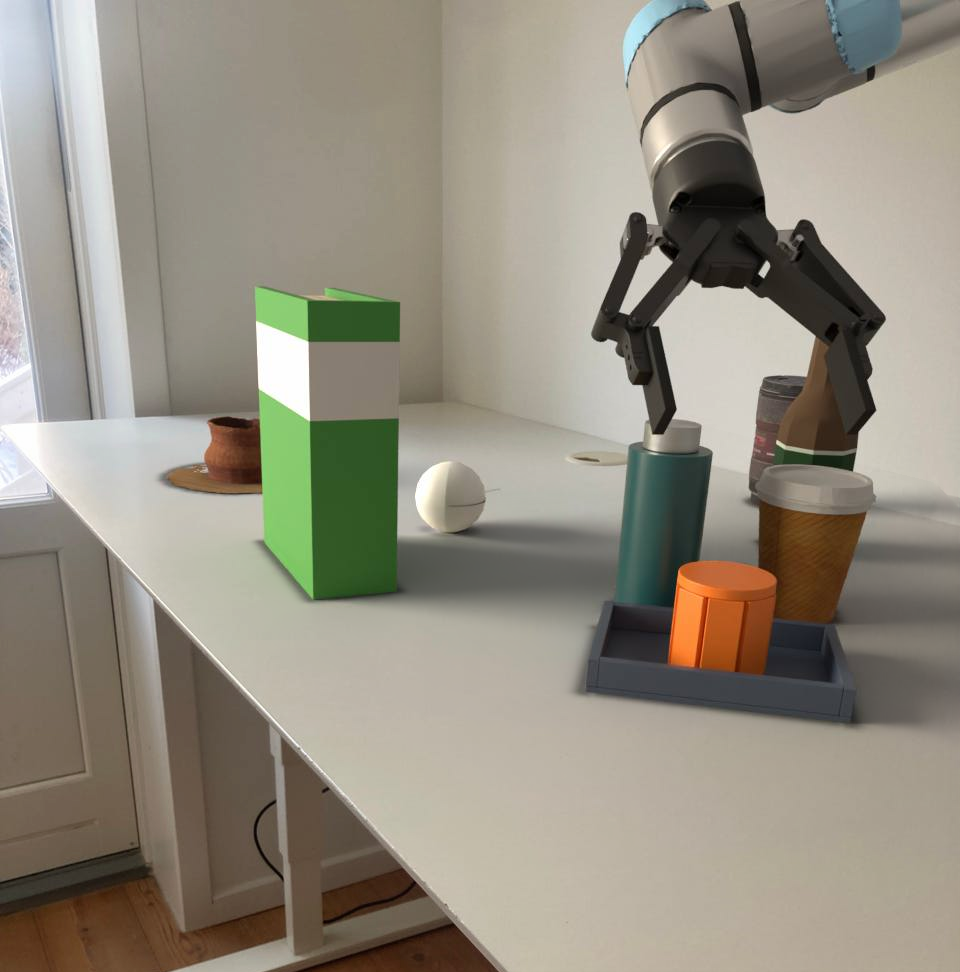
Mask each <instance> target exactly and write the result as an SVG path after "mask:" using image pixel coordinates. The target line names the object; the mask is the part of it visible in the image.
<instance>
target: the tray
mask: <svg viewBox="0 0 960 972" xmlns="http://www.w3.org/2000/svg"><path fill="white" fill-rule="evenodd" d="M673 613H674V608H671V607H662V606H652V605H642V604H633V603H623V602H614V600H613V601H612V600H604V601H603V605H602V608H601V611H600V615H599V618H598V622H597V625H596V628H595V633H594V636H593V638H592V643H591V646H590V650H589V653H588V657H587V663H586V664H587V665H586V672H585V673H586V674H585V686H584V687H585V688H584V692H585V693H594V694H601V695H609V696H616V697H617V696H618V697H625V698H635V699H642V700H652V701H657V702H658V701H660V702H668V703H675V704H683V705H684V704H685V705H692V706H701V707H707V708H708V707H709V708H718V709H726V710H733V711H742V712H752V713H759V714H768V715H775V716H784V717H791V718H801V719H809V720H816V721H826V722H833V723H842V724H851V722H852V716H853V712H854V706H855V701H856V698H857V697H856V696H857V692H858V691H857V687H856V685H855V681H854V679H853V675H852V672H851V669H850V666H849V663H848V661H847V657H846V655H845V651H844V649H843V644H842V642H841V640H840V637H839V634H838V631H837V628H836V625H835V624H832V623H825V624H823V623H815V622H805V621H796V620H786V619H777V618H773V621H772V627H771V634H770V640H769V647H768V653H767V659H766V666H765V672H764V675H758V674H749V673H740V672H731V671H722V670H714V669H705V668H696V667H687V666H679V665H670V664H668V656H669V647H670V638H671V630H672V621H673Z"/></svg>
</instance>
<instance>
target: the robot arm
mask: <svg viewBox="0 0 960 972" xmlns="http://www.w3.org/2000/svg"><path fill="white" fill-rule="evenodd" d="M959 47H960V0H738V1H737V0H736V1H734V2H731V3H729V4H728V3H726V4H724V5H721V6H719V7H716V8H714V9H712V8H711V6H710V5H709V4H708V3H707V2H706V1H705V0H651V1H650V2H648V3H647V4H646V5H644V7H642V8H641V9H640V10H639V11H638V12H637V13H636V15H635V16H634V17H633V19H632V20H631V22H630V24H629V26H628V27H627V29H626V32H625V35H624V37H623V44H622V60H623V62H622V63H623V67H624V74H625V75H624V76H625V78H624V82H625V86H626V91H627V95H628V99H629V105H630V107H631V112H632V114H633V115H632V116H633V120H634V123H635V128H636V132H637V136H638V139H639V143H640V148H641V153H642V157H643V162H644V166H645V171H646V175H647V180H648V184H649V187H650V190H651V194H652V195H651V196H652V197H651V199H652V202H653V207H654V212H655V216H656V221H657V224H652V223H647V218H646V215H644V214H643V213H642V212H640V211H639V212H638V211H634V212H631V213H630V214H629V217H628V219H627V222H626V224H625V227H624V230H623V232H622V235H621V238H620V240H619V255H620V260H619V263H618V265H617V267H616V270H615V272H614V274H613V277H612V279H611V281H610V284H609V287H608V289H607V291H606V293H605V296H604V298H603V301H602V303H601V305H600V307H599V310H598V313H597V315H596V318H595V321H594V324H593V326H592V329H591V332H590V335H591V338H592V339H593V340H594V341H595V342H598V343H605V342H607V340H609V341H612V342H614V343H616V346H615V349H614V350H615V353H616V355H617V356H619V357H620V358H623V359H624V364H625V368H626V373H627V379H628V381H629V382H630V384H631V385H632V386H642V392H643V395H644V400H645V405H646V406H645V407H646V411H647V415H648V420H649V421H650V426H651V431H652V435H664V433H665V431H666V429H667V427H668V425H669V423H670V422H671V420H672V419H674V416H675V414H676V412H677V410H678V409H677V404H676V398H675V394H674V390H673V385H672V384H673V383H672V380H671V375H670V371H669V366H668V362H667V357H666V353H665V348H664V344H663V343H664V342H663V339H662V334H661V329H660V326H659V325H655V324H656V323H657V322H658V320H659V319H660V318H661V317H662V315H663V314H664V313H665V311H666V310H667V309H668V308H669V307H670V305H671V304H672V303H673V302H674V301H675V299H676V298H677V297H679V296H680V295H681V294H682V293H683V292H684V290H685V289H686V288H687V286H688V285H689V284H690V283H691V282H694V283H696V284H699V285H700V287H701V288H702V289H714V288H719V287H724V288H728V289H733V290H734V289H735V290H744V289H745V288H746V289H747V290H749V291H750V292H751V293H752V294H754V295H755V296H756V297H757V298H759V299H765V298H767V299H769V300H770V301H771V302H773V303H774V304H775V305H776V306H777V307H779V308H780V309H781V310H783V311H784V312H785V313H786V314H787V315H788V316H790V317H791V318H792V319H794V320H795V321H796V322H797V323H798V324H800V325H801V326H802V327H804V328H805V329H806V330H807V331H809V332H810V333H811V334H812V335H814V336H815V337H817V338H819V339H820V340H821V341H822V342H824V343H825V344H826V345H827V346H829V349H828V350H827V351H826V353H825V354H824V360H825V363H826V367H827V370H828V374H829V377H830V381H831V384H832V387H833V391H834V394H835V398H836V401H837V405H838V408H839V412H840V415H841V419H842V422H843V425H844V429H845V432H846V435H857V433H858V432H859V433H860V431H861V430H862V429H863V427H864V426H865V425H866V424H867V422H869V420H870V419H871V418H872V416H874V414H875V413H876V412H877V407H876V404H875V400H874V398H873V394H872V390H871V387H870V384H869V379H870V377H871V376H872V375H873V370H874V368H873V364H872V362H871V359H870V356H869V352H868V349H867V346H868V345H869V344H870V342H872V340H873V339H874V337H875V336H876V335H877V333H878V332H879V330H880V329H881V328H882V326H883V325H884V324H885V323H886V320H887V318H886V317H887V316H886V315H885V313H884V312H883V310H881V309H880V307H878V305H877V304H876V302H874V301H873V300H872V298H871V297H870V296H869V295H868V294H867V293H866V292H865V291H864V290H863V288H862V287H861V286H860V284H859V283H858V282H857V281H855V280H854V278H853V277H852V276H851V275H850V274H849V273H848V271H847V270H846V269H845V268H844V267H843V266H842V265H841V264H840V262H839V261H838V260H837V259H836V258H835V257H834V255H832V253H831V252H830V251H829V249H828V248H826V247H825V245H824V244H823V243H822V242H821V241H822V240H821V239H820V236H819V234H818V232H817V230H816V228H815V225H814V224H813V222H812V221H810V220H809V219H804V218H803V219H800V220H799V221H797V224H796V225H795V227H794V229H793V228H792V229H790V228H789V229H777V228H776V227H775V225H773V223H772V222H771V221H770V220H769V218H768V216H767V210H766V209H767V208H766V196H765V195H766V194H765V190H764V187H763V183H762V180H761V176H760V173H759V170H758V169H759V168H758V165H757V163H756V159H755V157H754V148H753V145H752V143H751V139H750V136H749V132H748V129H747V126H746V123H745V119H744V116H745V115H748V114H750V113H753V112H756V111H759V110H761V109H762V108H763V109H764V108H765V107H769V108H772V109H773V110H775V111H778V112H780V113H784V114H790V115H791V114H794V115H795V114H800V113H803V112H807V111H810V110H812V109H814V108H816V107H818V106H820V105H821V104H822V103H823V102H824V101H825V100H827V99H830V98H832V97H835V96H838V95H840V94H843V93H845V92H848V91H851V90H853V89H855V88H859V87H861V86H863V85H865V84H866V83H869V82H871V81H874V80H877V79H880V78H882V77H884V76H886V75H889V74H892V73H894V72H897V71H900V70H902V69H904V68H907V67H910V66H912V65H915V64H918V63H920V62H923V61H925V60H927V59H928V60H929V59H930V58H934V57H936V56H939V55H941V54H944V53H946V52H949V51H951V50H954V49H956V48H959ZM655 247H658V249H659V251H660V252H661V253H662V254H663V255H664V256H665V257H666V258H667V259H668V260H669V261H670V262H671V264H670V265H669V266H668V267H667V268H666V270H665V271H664V272H663V273H662V275H661V276H659V278H658V279H657V280H656V281H655V283H654V284H653V285H652V286H651V288H650V289H649V290H648V291H647V292H646V293H645V295H644V296H643V297H642V299H641V300H640V301H639V302H638V303H637V304H636V305H635V307H634V308H633V309H632V310H631V312H629V314H627V313H624V312H622V311H620V310H621V308H622V307H623V303H624V301H625V298H626V296H627V293H628V291H629V289H630V286H631V284H632V282H633V279H634V276H635V274H636V272H637V269H638V267H639V264H640V262H641V261H642V260H644V259H645V257H646V256H649V255H651V253H652V251H653V249H654V248H655ZM766 263H769V268H768V270H767V272H766V274H765V276H764V277H763V276H762V275H760V272H761V271H762V269H763V268H764V266H765V264H766ZM839 326H840V327H841V328H842V329H841V330H840V332H839V330H838V327H839Z"/></svg>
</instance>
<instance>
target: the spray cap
mask: <svg viewBox="0 0 960 972" xmlns="http://www.w3.org/2000/svg"><path fill="white" fill-rule="evenodd" d="M776 585H777V579H776V577H775V576H774V575H772V574H771V573H769V572H767V571H765V570H763V569H760V568H758V566H754V565H750V564H746V563H741V562H735V561H727V560H700V561H697V562H692V563H688V564H685V565H683V566H681V567H680V569H679V571H678V578H677V587H676V596H675V604H674V613H673V621H672V630H671V638H670V647H669V656H668V664H670V665H679V666H687V667H696V668H705V669H714V670H722V671H731V672H740V673H749V674H758V675H764V672H765V666H766V659H767V653H768V647H769V640H770V634H771V627H772V621H773V614H774V608H775V601H776V592H775V591H776Z"/></svg>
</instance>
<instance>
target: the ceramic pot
mask: <svg viewBox="0 0 960 972" xmlns="http://www.w3.org/2000/svg"><path fill="white" fill-rule="evenodd" d="M206 424H207V425H208V427H209V433H210V438H211V441H210V443H209V444H208V446H207V448H206V450H205V452H204V453H203V454H204V455H203V459H204V465H201V464H193V465H191V466H190V467H182V468H178V469H174V470H172V472H170V473H168V474H167V476H166V477H165V480H168V481H169V482H170V484H172V485H175V486H177V487H181V488H187V489H188V490H191V491H193V490H196V491H199V492H207V493H212V492H213V493H216V494H220V493H222V494H261V493H262V494H263V490H262V463H261V436H260V418H254V417H253V418H252V419H246V418H244V417H242V418H238V417H233V416H228V415H227V416H218V417H212V418H210V419H208V420H206Z"/></svg>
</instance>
